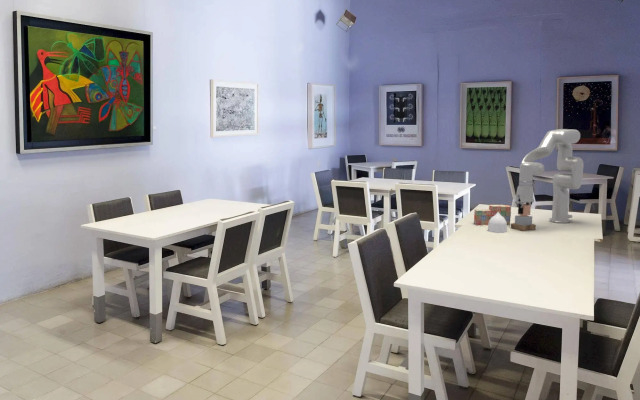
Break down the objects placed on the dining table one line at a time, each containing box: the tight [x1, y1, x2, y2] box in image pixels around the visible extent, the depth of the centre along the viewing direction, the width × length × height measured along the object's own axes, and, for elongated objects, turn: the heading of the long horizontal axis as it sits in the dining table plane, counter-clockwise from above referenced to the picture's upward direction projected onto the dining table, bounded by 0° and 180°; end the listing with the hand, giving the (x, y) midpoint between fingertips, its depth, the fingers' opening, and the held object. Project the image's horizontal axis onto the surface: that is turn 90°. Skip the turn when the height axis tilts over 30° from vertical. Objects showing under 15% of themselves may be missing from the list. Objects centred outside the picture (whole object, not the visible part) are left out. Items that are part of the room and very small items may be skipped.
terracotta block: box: [517, 203, 532, 216], centre depth 334 cm, size 5×5×6 cm
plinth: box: [510, 222, 537, 232], centre depth 335 cm, size 10×10×3 cm
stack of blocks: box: [473, 204, 512, 226], centre depth 349 cm, size 21×6×12 cm, turn 86°
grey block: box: [514, 214, 533, 226], centre depth 334 cm, size 7×7×5 cm
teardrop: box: [487, 212, 508, 234], centre depth 329 cm, size 11×11×12 cm
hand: (523, 213), depth 334 cm, fingers closed on terracotta block, 5 cm apart
